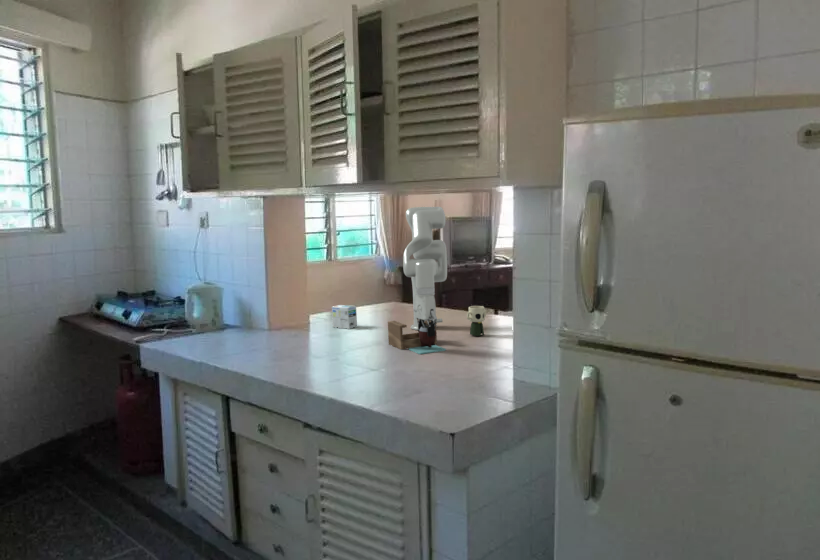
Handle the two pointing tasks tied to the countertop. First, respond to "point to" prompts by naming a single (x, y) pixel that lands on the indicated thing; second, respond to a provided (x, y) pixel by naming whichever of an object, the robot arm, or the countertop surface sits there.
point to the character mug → (476, 319)
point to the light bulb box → (344, 316)
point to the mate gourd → (424, 338)
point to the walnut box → (403, 336)
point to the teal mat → (427, 349)
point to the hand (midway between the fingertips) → (426, 334)
